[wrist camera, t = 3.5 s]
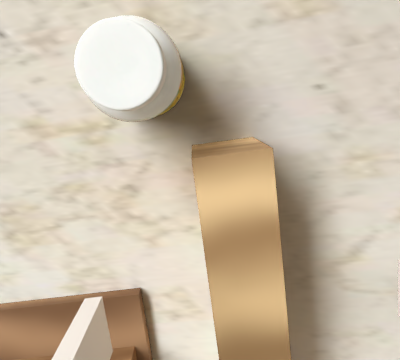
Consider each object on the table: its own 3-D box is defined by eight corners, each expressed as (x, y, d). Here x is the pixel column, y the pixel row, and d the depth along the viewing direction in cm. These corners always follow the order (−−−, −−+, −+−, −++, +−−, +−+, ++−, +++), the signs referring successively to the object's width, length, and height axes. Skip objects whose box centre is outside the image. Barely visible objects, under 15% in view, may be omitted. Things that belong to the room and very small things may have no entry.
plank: (192, 144, 26) (191, 158, 19) (252, 136, 26) (272, 148, 19) (231, 428, 32) (241, 518, 25) (280, 422, 31) (304, 511, 25)
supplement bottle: (126, 25, 24) (81, -25, 15) (197, 58, 24) (198, 29, 15) (99, 99, 25) (41, 96, 16) (168, 129, 26) (152, 143, 16)
